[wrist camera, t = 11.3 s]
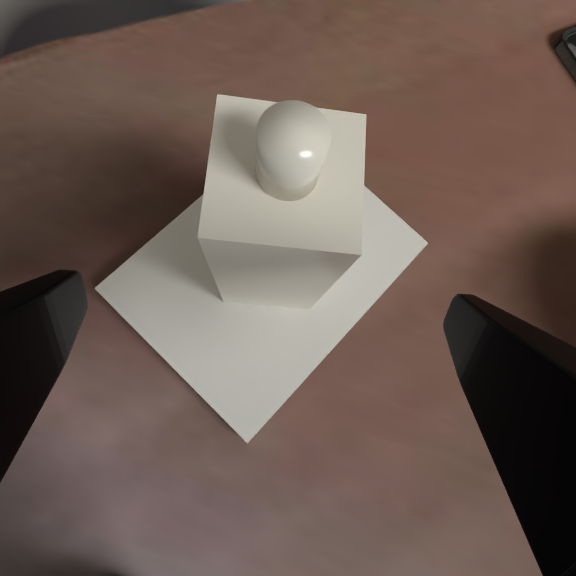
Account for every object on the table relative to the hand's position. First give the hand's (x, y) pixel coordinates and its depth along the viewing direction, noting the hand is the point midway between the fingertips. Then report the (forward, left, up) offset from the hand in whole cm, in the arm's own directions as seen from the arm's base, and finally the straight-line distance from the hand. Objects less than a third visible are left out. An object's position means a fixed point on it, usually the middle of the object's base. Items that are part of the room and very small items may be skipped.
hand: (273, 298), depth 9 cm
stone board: (+4, +3, -13) cm, 14 cm away
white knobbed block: (+4, +3, -12) cm, 13 cm away
